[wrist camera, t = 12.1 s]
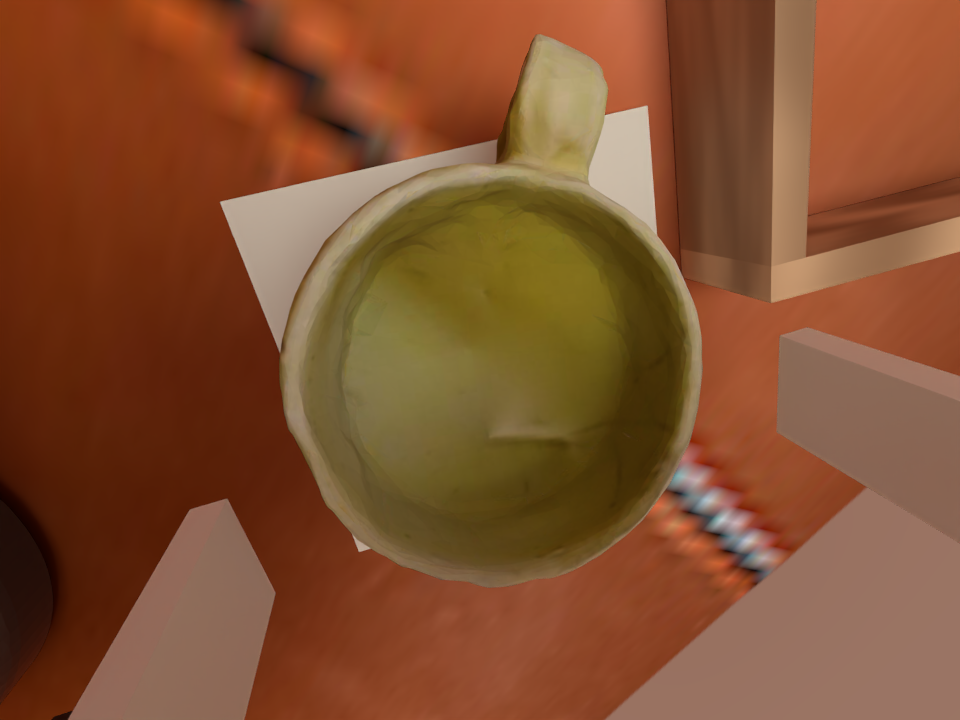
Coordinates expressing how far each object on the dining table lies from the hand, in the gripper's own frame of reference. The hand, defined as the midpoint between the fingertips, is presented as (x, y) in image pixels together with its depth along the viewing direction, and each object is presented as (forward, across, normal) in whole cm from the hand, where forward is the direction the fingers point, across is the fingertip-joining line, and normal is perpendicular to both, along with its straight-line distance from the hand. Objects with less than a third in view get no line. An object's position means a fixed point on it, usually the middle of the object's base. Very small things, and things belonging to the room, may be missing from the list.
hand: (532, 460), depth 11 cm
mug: (+8, +2, -1) cm, 8 cm away
